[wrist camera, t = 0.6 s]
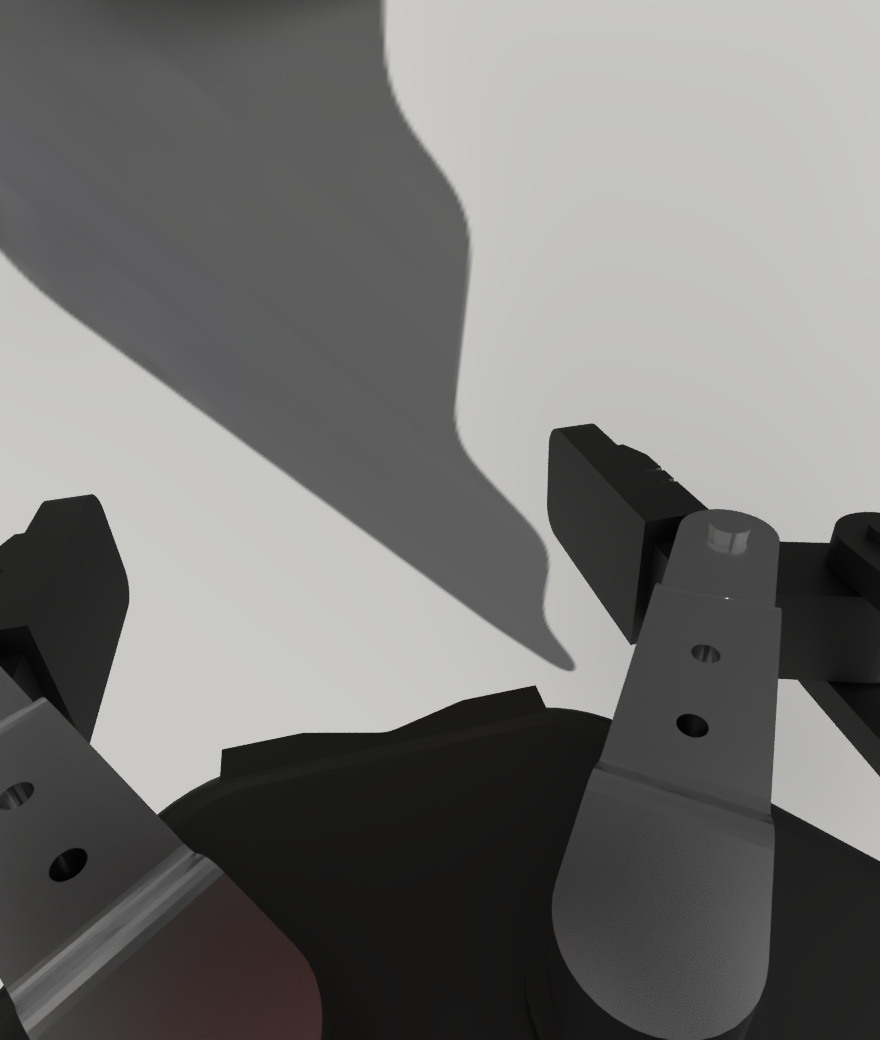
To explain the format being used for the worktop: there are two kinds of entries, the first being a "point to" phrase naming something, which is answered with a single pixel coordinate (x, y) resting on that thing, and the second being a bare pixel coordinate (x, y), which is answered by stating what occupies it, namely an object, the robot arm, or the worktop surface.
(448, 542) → the worktop surface
